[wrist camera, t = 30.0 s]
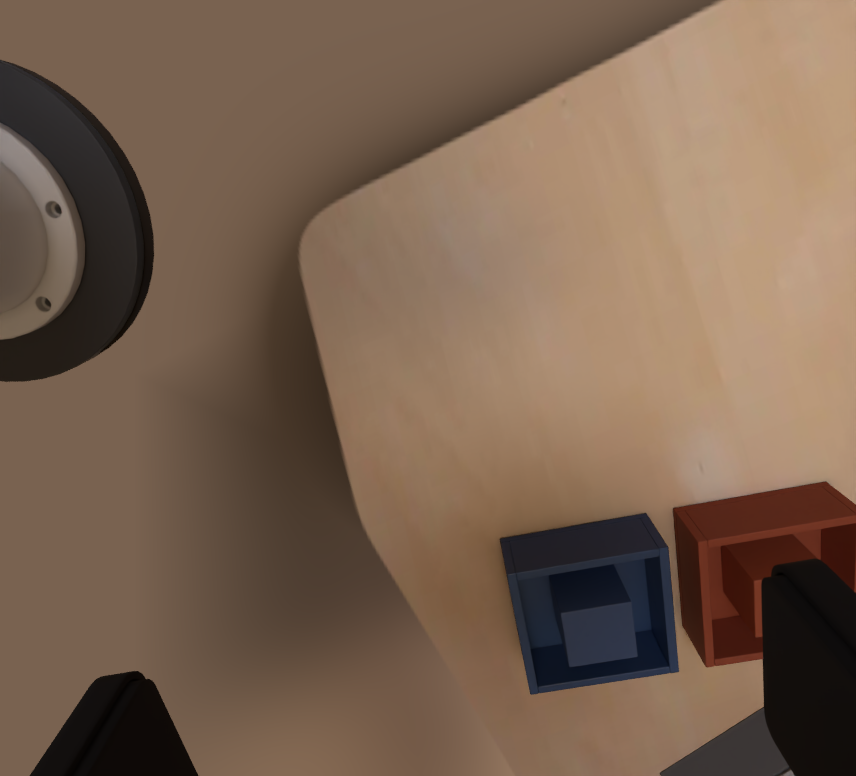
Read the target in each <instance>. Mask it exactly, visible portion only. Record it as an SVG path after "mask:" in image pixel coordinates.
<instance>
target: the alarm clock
mask: <svg viewBox="0 0 856 776" xmlns="http://www.w3.org/2000/svg"><path fill="white" fill-rule="evenodd" d="M660 775H661V776H795V775H794V774H793V772H792V770H791V769H790V767H789V765H788V764H787V762H786V761H785V759H784V757H783V756H782V754H781V752H780V751H779V749H778V747H777V746H776V744H775V742H774V740H773V739H772V737H771V734H770V732H769V729H768V727H767V724H766V720H765V714H764V707H763V708H762V709H760V710H759V711H757V712H756V713H754V714H752V715H751V716H749V717H748V718H746V719H745V720H743V721H741V722H740V723H738V724H737V725H735V726H734V727H732V728H730V729H729V730H727V731H726V732H724V733H723V734H721V735H719V736H718V737H716V738H715V739H713V740H712V741H710V742H708V743H707V744H705V745H704V746H702V747H701V748H699V749H697V750H696V751H694V752H693V753H691V754H690V755H688V756H686V757H685V758H683V759H682V760H680V761H679V762H677V763H675V764H674V765H672V766H671V767H669V768H668V769H666V770H664V771H663V772H661V773H660Z"/></svg>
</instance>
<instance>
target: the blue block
mask: <svg viewBox="0 0 856 776" xmlns="http://www.w3.org/2000/svg"><path fill="white" fill-rule="evenodd" d="M548 576H549V582H550V588H551V594H552V600H553V606H554V612H555V618H556V622H557V625H558V629H559V632H560V636H561V640H562V643H563V647H564V650H565V654H566V657H567V661H568V664H569V667H575V666H582V665H588V664H594V663H601V662H607V661H614V660H620V659H626V658H633V657H637V656H638V653H637V645H636V636H635V627H634V618H633V610H632V602H631V600H630V598H629V595H628V593H627V591H626V589H625V587H624V585H623V583H622V581H621V578H620V576H619V574H618V572H617V570H616V568H615V566H614V564H612V565H606V566H600V567H594V568H588V569H582V570H576V571H570V572H564V573H559V574H553V575H548Z"/></svg>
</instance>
